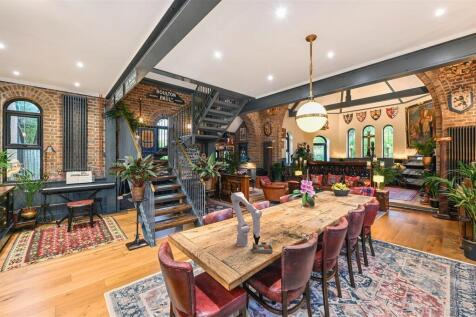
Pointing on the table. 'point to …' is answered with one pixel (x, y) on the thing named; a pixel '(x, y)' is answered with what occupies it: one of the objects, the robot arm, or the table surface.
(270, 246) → the slate lane
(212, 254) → the table surface
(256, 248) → the walnut step ramp
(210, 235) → the table surface
